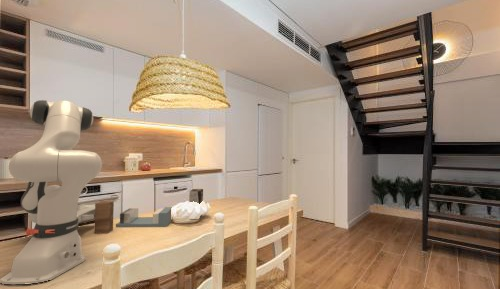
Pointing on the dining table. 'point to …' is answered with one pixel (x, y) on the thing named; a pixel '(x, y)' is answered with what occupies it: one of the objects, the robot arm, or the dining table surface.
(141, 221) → the vise base
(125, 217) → the vise jaw
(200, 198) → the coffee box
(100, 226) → the walnut block
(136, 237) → the dining table surface
